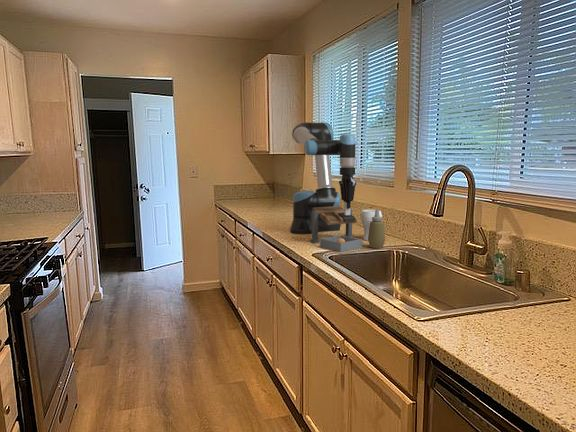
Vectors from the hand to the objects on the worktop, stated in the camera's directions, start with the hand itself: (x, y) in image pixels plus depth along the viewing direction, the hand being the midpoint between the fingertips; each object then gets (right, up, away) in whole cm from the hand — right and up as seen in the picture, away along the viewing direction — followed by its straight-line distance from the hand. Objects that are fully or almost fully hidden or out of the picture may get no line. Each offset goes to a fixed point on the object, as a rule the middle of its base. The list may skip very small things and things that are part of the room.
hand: (347, 214), depth 207 cm
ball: (-5, -13, -12) cm, 18 cm away
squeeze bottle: (+13, -16, -9) cm, 22 cm away
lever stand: (-7, -13, +8) cm, 17 cm away
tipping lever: (-7, -11, +9) cm, 16 cm away
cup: (+14, -13, +9) cm, 21 cm away
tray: (-4, -15, -8) cm, 18 cm away
